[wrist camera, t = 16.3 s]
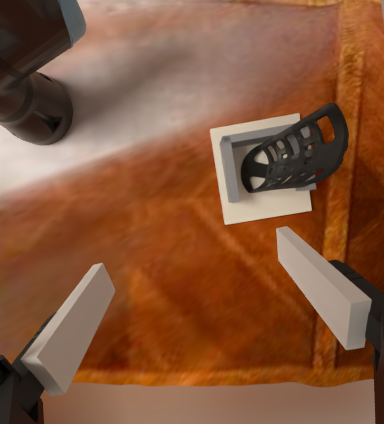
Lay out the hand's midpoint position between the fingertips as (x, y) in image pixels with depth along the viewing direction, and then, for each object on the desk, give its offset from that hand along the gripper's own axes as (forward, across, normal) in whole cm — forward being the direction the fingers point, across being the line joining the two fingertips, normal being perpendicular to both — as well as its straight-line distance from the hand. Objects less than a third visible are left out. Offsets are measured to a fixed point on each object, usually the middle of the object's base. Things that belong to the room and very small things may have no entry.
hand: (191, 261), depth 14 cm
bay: (+32, +16, -2) cm, 36 cm away
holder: (+31, +16, -1) cm, 35 cm away
